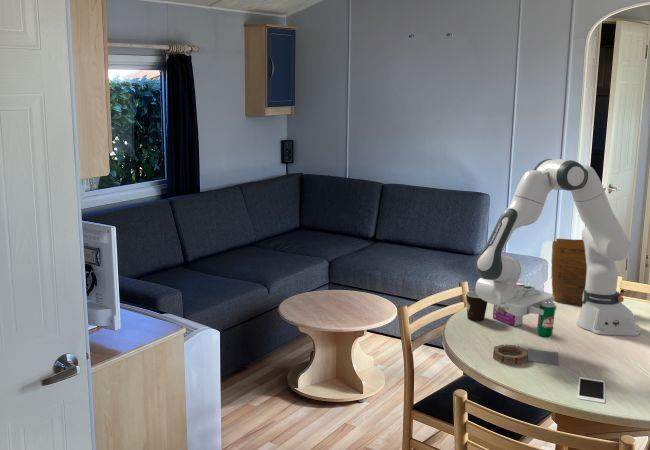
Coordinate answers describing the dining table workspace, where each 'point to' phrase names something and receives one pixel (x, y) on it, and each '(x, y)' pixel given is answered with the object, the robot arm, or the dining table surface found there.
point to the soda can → (546, 319)
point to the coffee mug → (475, 307)
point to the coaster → (543, 356)
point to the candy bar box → (507, 314)
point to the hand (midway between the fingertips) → (549, 310)
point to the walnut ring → (510, 359)
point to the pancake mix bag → (568, 271)
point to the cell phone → (591, 390)
